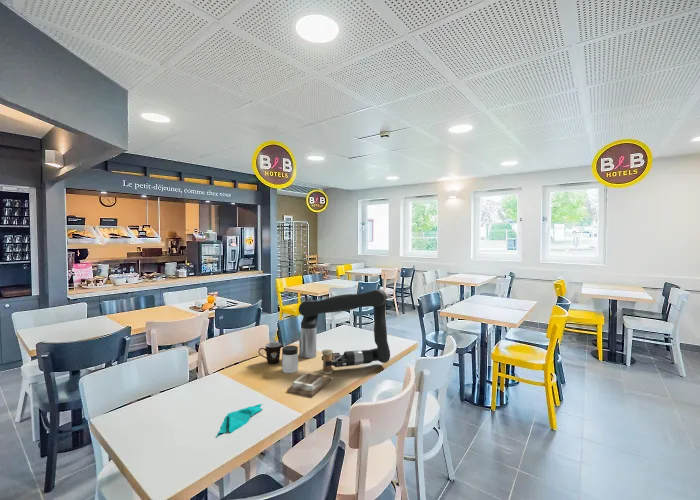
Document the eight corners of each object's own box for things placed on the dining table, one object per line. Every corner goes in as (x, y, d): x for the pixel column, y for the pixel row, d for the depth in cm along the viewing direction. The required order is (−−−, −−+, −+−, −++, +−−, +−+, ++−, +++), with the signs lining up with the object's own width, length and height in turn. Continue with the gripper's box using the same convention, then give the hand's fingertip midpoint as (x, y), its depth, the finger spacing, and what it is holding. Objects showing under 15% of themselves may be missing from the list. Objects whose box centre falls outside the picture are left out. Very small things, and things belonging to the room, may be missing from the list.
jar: (281, 367, 181) (281, 345, 181) (296, 366, 184) (296, 344, 183) (282, 374, 173) (283, 351, 172) (298, 372, 175) (299, 349, 175)
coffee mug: (282, 359, 193) (283, 342, 192) (278, 365, 184) (278, 347, 184) (263, 359, 194) (263, 341, 194) (257, 364, 185) (257, 346, 185)
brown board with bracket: (287, 391, 154) (287, 383, 153) (308, 375, 171) (308, 368, 171) (312, 397, 149) (312, 388, 148) (331, 380, 166) (331, 373, 166)
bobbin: (319, 373, 175) (320, 352, 174) (324, 369, 180) (325, 348, 180) (329, 374, 173) (329, 353, 172) (334, 371, 178) (334, 350, 177)
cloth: (255, 401, 145) (255, 396, 145) (277, 411, 138) (277, 405, 138) (198, 429, 124) (198, 423, 124) (221, 442, 116) (221, 436, 116)
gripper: (349, 346, 187) (320, 349, 182) (357, 355, 173) (326, 358, 169) (349, 360, 187) (320, 363, 183) (357, 370, 174) (326, 373, 169)
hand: (323, 361), depth 176 cm, fingers open, 7 cm apart
